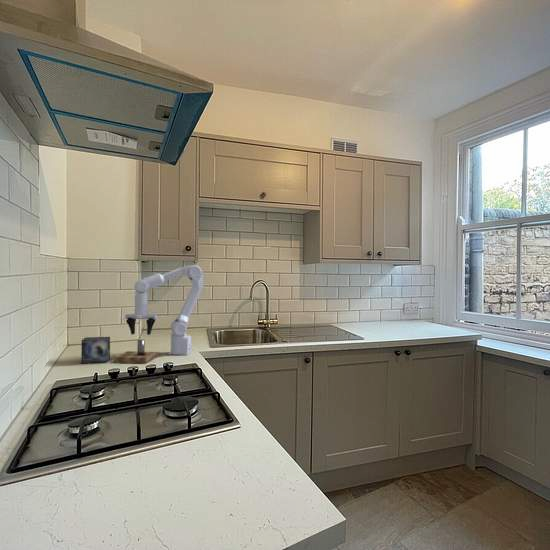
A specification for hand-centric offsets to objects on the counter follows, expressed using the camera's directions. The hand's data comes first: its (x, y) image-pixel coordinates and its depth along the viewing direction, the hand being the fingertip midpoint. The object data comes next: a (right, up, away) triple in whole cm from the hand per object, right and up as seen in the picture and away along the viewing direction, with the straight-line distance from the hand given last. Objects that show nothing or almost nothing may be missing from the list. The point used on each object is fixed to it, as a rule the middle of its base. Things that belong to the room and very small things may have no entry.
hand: (140, 334), depth 163 cm
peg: (+3, -11, -7) cm, 13 cm away
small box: (-16, -11, -11) cm, 22 cm away
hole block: (+1, -10, -7) cm, 12 cm away
